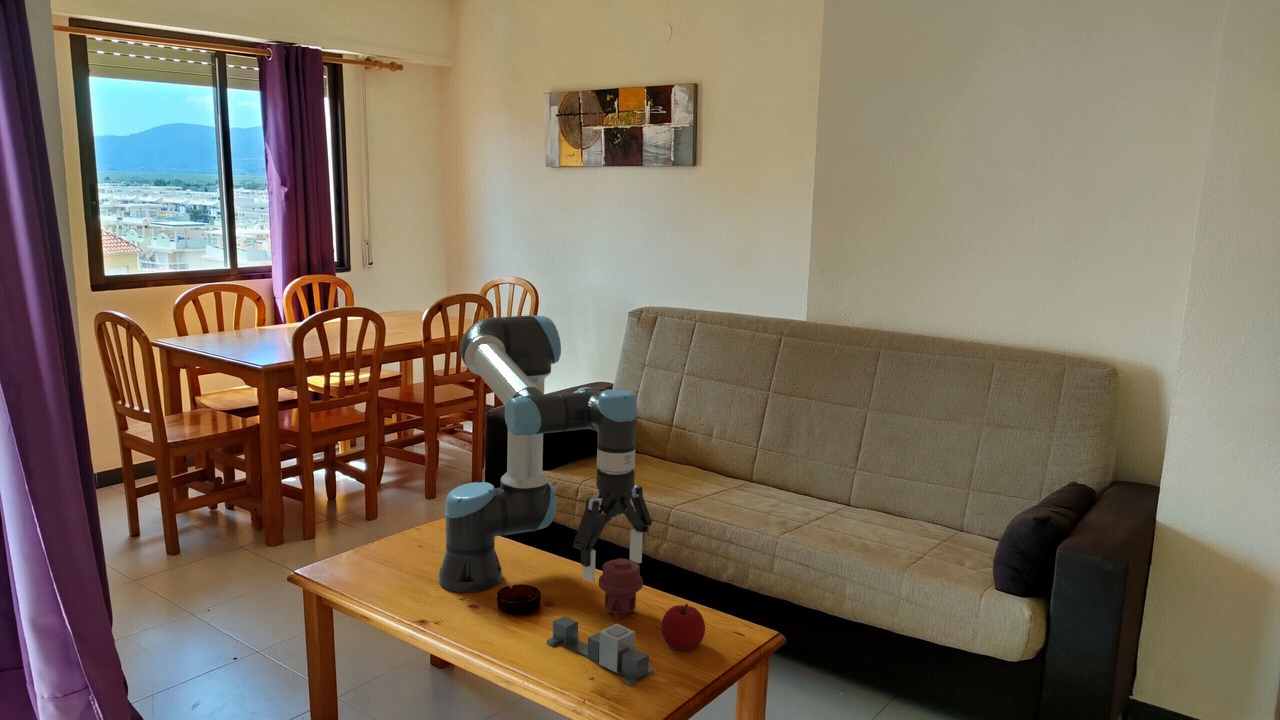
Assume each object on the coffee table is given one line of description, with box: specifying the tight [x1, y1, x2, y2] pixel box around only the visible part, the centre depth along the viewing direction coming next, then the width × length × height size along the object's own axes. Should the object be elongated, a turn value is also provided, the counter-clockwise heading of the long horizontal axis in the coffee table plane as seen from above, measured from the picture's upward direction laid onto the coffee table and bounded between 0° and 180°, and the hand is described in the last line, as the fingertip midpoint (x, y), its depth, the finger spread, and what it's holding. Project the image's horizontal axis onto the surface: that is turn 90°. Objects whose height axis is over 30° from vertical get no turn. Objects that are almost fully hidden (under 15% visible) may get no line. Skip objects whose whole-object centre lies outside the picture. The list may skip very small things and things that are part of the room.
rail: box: [546, 615, 655, 687], centre depth 185 cm, size 24×7×4 cm, turn 48°
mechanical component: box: [598, 558, 644, 620], centre depth 205 cm, size 12×10×10 cm
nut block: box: [599, 623, 636, 674], centre depth 181 cm, size 5×5×7 cm
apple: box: [660, 603, 706, 652], centre depth 190 cm, size 9×9×10 cm
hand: (612, 570), depth 182 cm, fingers open, 13 cm apart
